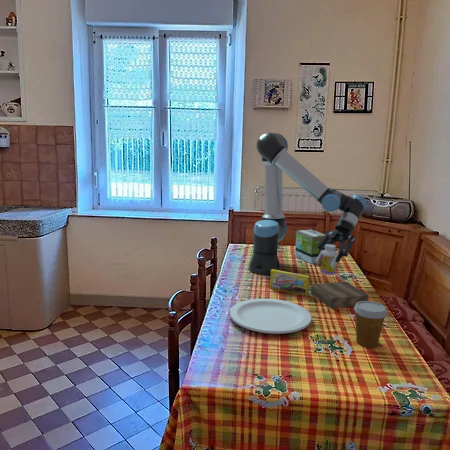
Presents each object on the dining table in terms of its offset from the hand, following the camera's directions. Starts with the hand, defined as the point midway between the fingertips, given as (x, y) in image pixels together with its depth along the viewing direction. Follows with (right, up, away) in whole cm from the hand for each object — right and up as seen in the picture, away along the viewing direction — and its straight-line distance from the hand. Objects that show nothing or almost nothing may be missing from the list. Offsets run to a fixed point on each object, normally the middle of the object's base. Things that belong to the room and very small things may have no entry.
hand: (324, 265), depth 181 cm
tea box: (+2, -1, +40) cm, 40 cm away
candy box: (-17, -10, -9) cm, 22 cm away
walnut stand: (+2, -12, -16) cm, 20 cm away
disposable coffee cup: (+1, -19, -52) cm, 56 cm away
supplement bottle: (+2, -4, +4) cm, 6 cm away
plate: (-28, -16, -37) cm, 49 cm away
